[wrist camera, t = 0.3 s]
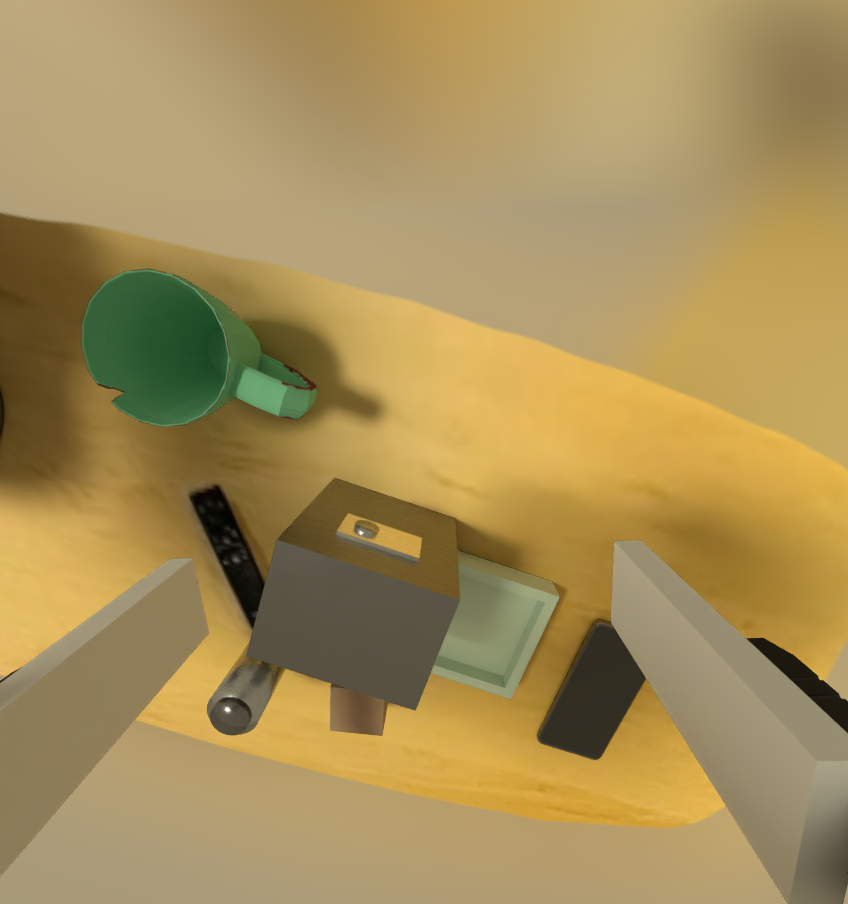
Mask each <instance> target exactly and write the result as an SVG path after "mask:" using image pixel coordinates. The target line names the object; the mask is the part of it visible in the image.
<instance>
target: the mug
mask: <svg viewBox="0 0 848 904" xmlns="http://www.w3.org/2000/svg"><path fill="white" fill-rule="evenodd" d="M82 350H83V353H84V357H85V361H86V364H87V368H88V371H89V372H90V374H91V376H92V377H93V379H94V380H95V382H96V383H97V385H100V386H103V387H105V388H108V389H117V390H119V391H122V392H124V393H123V394H122V395H120V396H118V397H116V398H115V399H114V400H113V401H112V403H113V404H114V405H115V406H116V407H117V408H118V409H119V410H120V411H122V412H124V413H125V414H127V415H129V416H131V417H132V418H134V419H136V420H138V421H139V422H143V423H148V424H152V425H156V426H160V427H167V426H179V425H186V424H190V423H192V422H195V421H197V420H199V419H201V418H203V417H206V416H208V415H210V414H212V413H214V412H215V411H216V410H218V409H219V408H220V407H222V406H223V405H224V404H226V403H227V402H229V401H231V400H232V399H234V398H237V399H240V400H242V401H244V402H246V403H248V404H250V405H252V406H254V407H257V408H259V409H261V410H264V411H266V412H269V413H271V414H274V415H276V416H279V417H284V418H290V419H298V418H300V417H301V416H303V415H304V414H305V413H307V412H308V411H309V410H310V409H311V407H312V406H313V405H314V403H315V400H316V396H317V387H316V385H315V384H314V383H313V382H311V381H310V380H308V379H307V378H306V377H304V376H303V375H302V374H300V373H299V372H298V371H297V370H295V369H293V368H291V367H289V366H287V365H285V364H283V363H281V362H279V361H277V360H275V359H273V358H271V357H269V356H267V355H265V354H263V353H262V350H261V345H260V343H259V341H258V339H257V337H256V336H255V334H254V333H253V331H252V330H251V329H250V328H249V327H248V326H247V324H246V323H245V322H244V321H243V320H242V319H241V318H240V317H239V316H238V315H237V314H236V313H235V312H234V311H233V310H232V309H230V308H229V307H228V306H226V305H225V304H224V303H223V302H221V301H220V300H218V299H217V298H215V297H213V296H212V295H210V294H208V293H207V292H206V291H204V290H202V289H201V288H199V287H197V286H196V285H194V284H192V283H191V282H189V281H187V280H186V279H184V278H182V277H180V276H177V275H174V274H170V273H165V272H161V271H157V270H152V269H140V270H131V271H124V272H122V273H120V274H119V275H117V276H115V277H113V278H111V279H109V280H107V281H105V282H104V283H103V284H102V286H101V287H100V288H99V289H98V290H97V292H96V293H95V294H94V295H93V296H92V297H91V299H90V300H89V303H88V306H87V309H86V312H85V314H84V317H83V320H82Z"/></svg>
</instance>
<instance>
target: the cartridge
mask: <svg viewBox="0 0 848 904" xmlns="http://www.w3.org/2000/svg"><path fill="white" fill-rule="evenodd" d="M249 643H250V642H249ZM248 647H249V644H248V645H247V647H246V648H245V649H244V651H243V652H242V654H241V655H240V657H239V658H238V660H237V661H236V662H235V664H234V665H233V667H232V668H231V670H230V671H229V673H228V674H227V675H226V677H225V678H224V680H223V681H222V683H221V684H220V686H219V687H218V688H217V690H216V691H215V693H214V694H213V696H212V697H211V698H210V700H209V702H208V705H207V713H208V717H209V719H210V721H211V723H212V725H213V726H214V727H215V728H216V729H217V730H218V731H219V732H221V733H223V734H226V735H238V734H245V733H248V732H250V731H251V730H253V729H254V728H255V727H256V725H257V723H258V721H259V719H260V717H261V716H262V714H263V712H264V710H265V708H266V706H267V704H268V702H269V700H270V698H271V696H272V694H273V692H274V690H275V688H276V687H277V685H278V683H279V681H280V679H281V677H282V675H283V673H284V671H285V669H286V668H283V667H279V666H276V665H273V664H270V663H267V662H264V661H261V660H258V659H255V658H252V657H248V656H246V654H247V650H248Z"/></svg>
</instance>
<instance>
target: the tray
mask: <svg viewBox="0 0 848 904" xmlns="http://www.w3.org/2000/svg"><path fill="white" fill-rule="evenodd" d="M457 552H458V570H459V587H460V602H459V604H458V607H457V609H456V612H455V614H454V617H453V619H452V622H451V624H450V627H449V629H448V631H447V634H446V636H445V639H444V641H443V644H442V646H441V649H440V651H439V654H438V656H437V658H436V661H435V663H434V666H433V668H432V671H431V673H432V674H435V675H438V676H441V677H444V678H447V679H450V680H453V681H456V682H459V683H462V684H465V685H468V686H472V687H475V688H478V689H481V690H484V691H487V692H490V693H493V694H496V695H499V696H502V697H505V698H508V699H512V696H513V694H514V692H515V690H516V688H517V686H518V684H519V682H520V680H521V678H522V675H523V673H524V671H525V669H526V667H527V665H528V663H529V661H530V659H531V657H532V654H533V652H534V650H535V648H536V646H537V644H538V642H539V640H540V638H541V636H542V633H543V631H544V629H545V627H546V625H547V623H548V621H549V619H550V617H551V615H552V613H553V610H554V608H555V606H556V604H557V602H558V600H559V598H560V596H559V594H558V592H557V590H556V588H555V586H554V584H553V582H551V581H548V580H545V579H542V578H539V577H536V576H533V575H530V574H527V573H524V572H521V571H518V570H515V569H512V568H509V567H506V566H503V565H500V564H497V563H494V562H491V561H489V560H486V559H483V558H480V557H477V556H474V555H471V554H468V553H465V552H462V551H459V550H457Z"/></svg>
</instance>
